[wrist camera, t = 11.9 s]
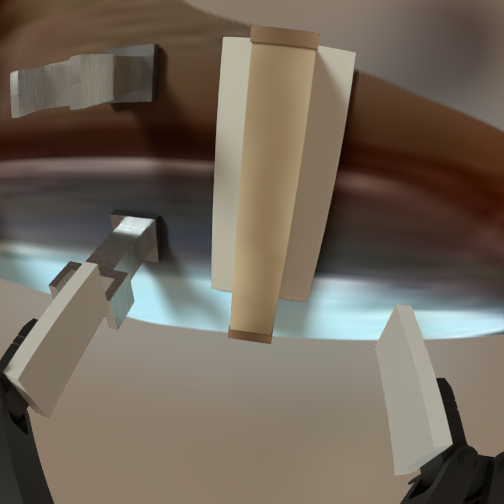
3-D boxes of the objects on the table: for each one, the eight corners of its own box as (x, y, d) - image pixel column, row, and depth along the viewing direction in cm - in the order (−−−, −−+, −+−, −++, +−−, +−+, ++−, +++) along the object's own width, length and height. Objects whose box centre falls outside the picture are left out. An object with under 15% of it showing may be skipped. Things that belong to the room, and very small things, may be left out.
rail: (238, 293, 32) (228, 337, 27) (261, 37, 19) (251, 25, 14) (275, 298, 32) (270, 343, 27) (313, 43, 19) (319, 33, 14)
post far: (116, 250, 32) (62, 321, 23) (110, 209, 30) (45, 275, 20) (166, 258, 32) (120, 338, 22) (163, 215, 29) (107, 290, 20)
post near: (103, 102, 24) (13, 133, 14) (103, 50, 21) (10, 58, 11) (162, 100, 23) (82, 126, 14) (164, 44, 21) (82, 37, 11)
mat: (212, 284, 33) (211, 288, 33) (225, 37, 20) (223, 36, 19) (306, 298, 32) (306, 302, 32) (354, 53, 19) (355, 52, 19)
